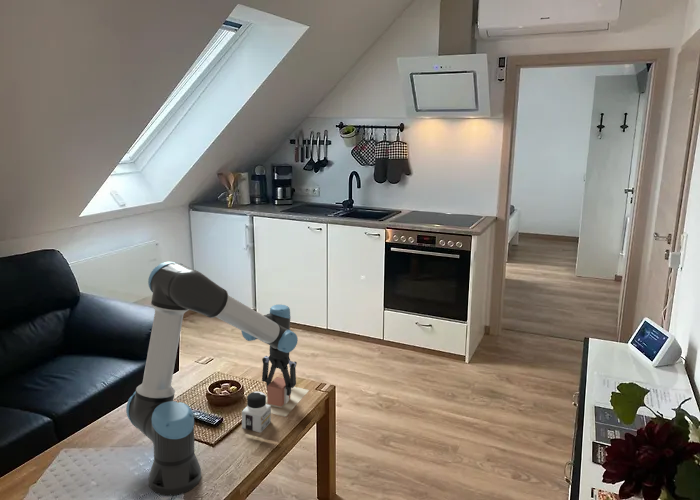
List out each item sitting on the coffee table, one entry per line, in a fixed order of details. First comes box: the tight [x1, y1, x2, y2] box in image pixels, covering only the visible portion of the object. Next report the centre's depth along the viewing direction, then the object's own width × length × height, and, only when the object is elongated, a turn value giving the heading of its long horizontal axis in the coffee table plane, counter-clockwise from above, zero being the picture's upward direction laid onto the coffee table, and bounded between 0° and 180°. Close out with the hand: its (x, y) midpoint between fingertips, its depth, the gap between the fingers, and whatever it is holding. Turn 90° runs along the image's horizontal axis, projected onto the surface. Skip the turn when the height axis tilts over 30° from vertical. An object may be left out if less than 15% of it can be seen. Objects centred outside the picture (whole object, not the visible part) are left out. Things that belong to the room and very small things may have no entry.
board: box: [265, 386, 310, 418], centre depth 211 cm, size 22×14×1 cm, turn 161°
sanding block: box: [266, 376, 291, 408], centre depth 208 cm, size 8×6×8 cm
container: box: [241, 391, 272, 433], centre depth 192 cm, size 8×8×13 cm
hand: (278, 400), depth 208 cm, fingers closed on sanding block, 6 cm apart
